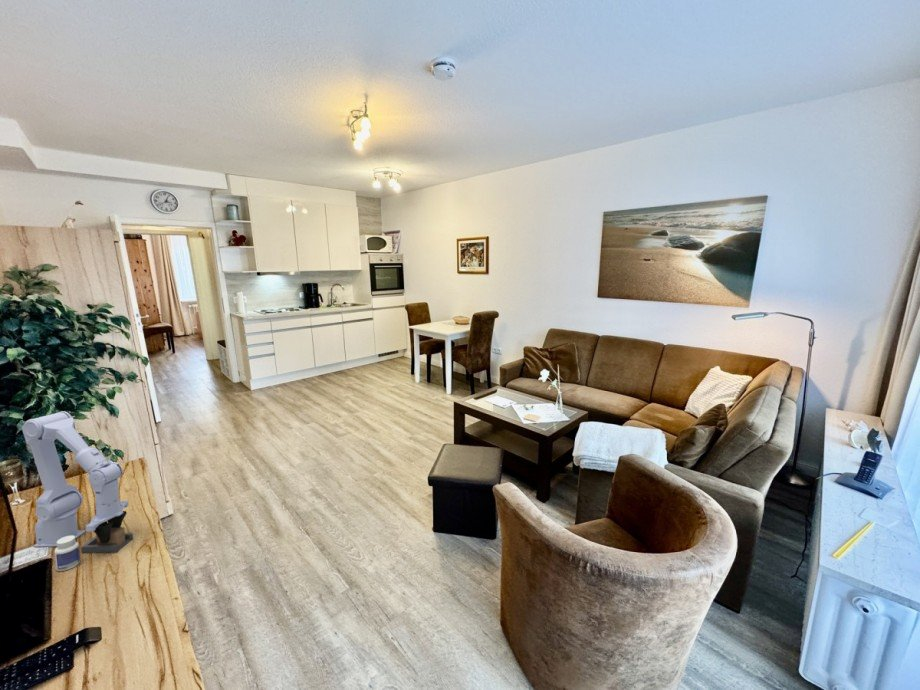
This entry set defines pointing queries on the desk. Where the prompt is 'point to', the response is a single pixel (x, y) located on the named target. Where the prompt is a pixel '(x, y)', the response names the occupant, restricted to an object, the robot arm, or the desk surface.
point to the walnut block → (114, 537)
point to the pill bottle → (67, 553)
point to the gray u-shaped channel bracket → (104, 546)
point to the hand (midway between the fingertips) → (110, 538)
